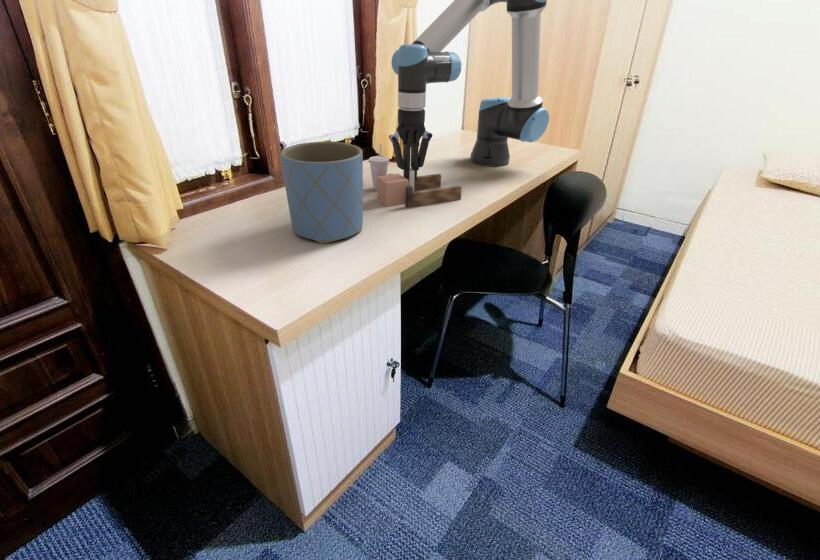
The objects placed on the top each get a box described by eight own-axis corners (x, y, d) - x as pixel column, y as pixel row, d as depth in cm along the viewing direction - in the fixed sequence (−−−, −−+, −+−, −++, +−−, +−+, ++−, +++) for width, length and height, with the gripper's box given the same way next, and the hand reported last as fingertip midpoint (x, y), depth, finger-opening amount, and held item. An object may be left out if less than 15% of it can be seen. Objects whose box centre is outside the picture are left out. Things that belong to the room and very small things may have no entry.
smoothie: (386, 193, 136) (386, 147, 129) (367, 191, 137) (365, 146, 130) (391, 186, 142) (391, 142, 135) (372, 184, 143) (371, 141, 136)
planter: (380, 230, 112) (379, 152, 102) (318, 253, 101) (309, 168, 90) (336, 209, 124) (331, 137, 113) (276, 228, 112) (264, 149, 102)
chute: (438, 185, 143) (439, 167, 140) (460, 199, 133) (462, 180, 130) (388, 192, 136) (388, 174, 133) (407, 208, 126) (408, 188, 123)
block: (398, 195, 135) (398, 173, 131) (408, 203, 129) (408, 180, 126) (377, 198, 132) (376, 176, 128) (386, 206, 126) (386, 183, 123)
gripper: (426, 104, 125) (423, 184, 137) (384, 107, 120) (385, 189, 132) (438, 109, 119) (434, 191, 131) (395, 112, 114) (395, 197, 126)
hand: (409, 190), depth 131 cm, fingers closed
